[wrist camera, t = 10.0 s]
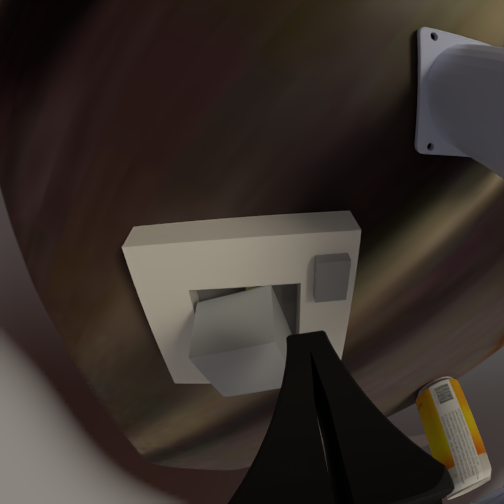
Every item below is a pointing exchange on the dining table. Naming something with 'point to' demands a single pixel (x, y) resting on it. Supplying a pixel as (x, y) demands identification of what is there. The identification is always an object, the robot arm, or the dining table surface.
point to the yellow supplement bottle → (453, 434)
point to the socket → (244, 274)
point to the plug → (241, 341)
